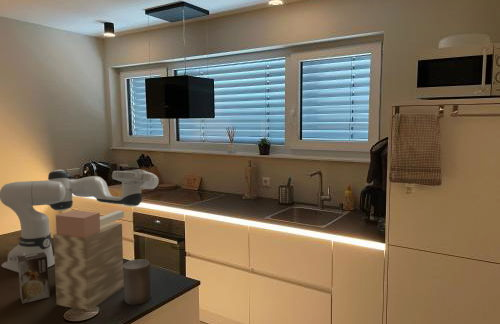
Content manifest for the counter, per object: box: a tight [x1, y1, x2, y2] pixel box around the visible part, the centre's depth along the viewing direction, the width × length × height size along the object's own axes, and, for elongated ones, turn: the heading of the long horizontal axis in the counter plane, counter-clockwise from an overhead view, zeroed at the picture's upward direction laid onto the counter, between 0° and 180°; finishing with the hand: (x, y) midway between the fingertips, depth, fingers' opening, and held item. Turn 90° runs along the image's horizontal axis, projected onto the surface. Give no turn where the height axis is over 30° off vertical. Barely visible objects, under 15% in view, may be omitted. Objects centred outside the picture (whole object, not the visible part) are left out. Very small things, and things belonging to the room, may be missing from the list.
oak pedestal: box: [52, 222, 124, 311], centre depth 142 cm, size 14×20×26 cm
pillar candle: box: [123, 258, 152, 306], centre depth 140 cm, size 10×10×15 cm
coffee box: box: [18, 252, 51, 305], centre depth 140 cm, size 9×6×16 cm
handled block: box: [55, 209, 125, 238], centre depth 144 cm, size 12×28×7 cm, turn 163°
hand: (124, 174), depth 175 cm, fingers open, 8 cm apart
